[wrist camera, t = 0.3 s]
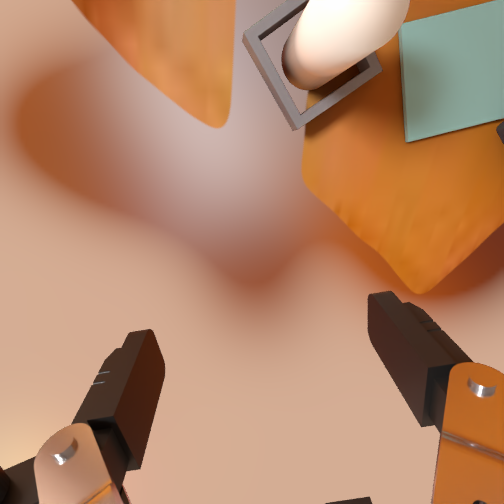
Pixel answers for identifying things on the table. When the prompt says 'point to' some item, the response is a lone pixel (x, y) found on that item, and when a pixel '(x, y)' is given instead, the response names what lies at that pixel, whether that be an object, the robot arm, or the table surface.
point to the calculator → (501, 131)
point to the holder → (252, 42)
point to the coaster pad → (452, 70)
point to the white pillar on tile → (338, 37)
